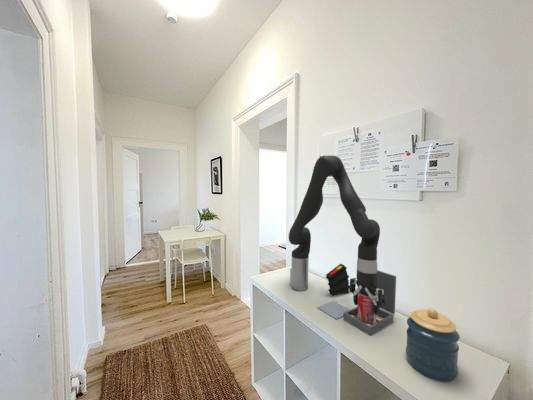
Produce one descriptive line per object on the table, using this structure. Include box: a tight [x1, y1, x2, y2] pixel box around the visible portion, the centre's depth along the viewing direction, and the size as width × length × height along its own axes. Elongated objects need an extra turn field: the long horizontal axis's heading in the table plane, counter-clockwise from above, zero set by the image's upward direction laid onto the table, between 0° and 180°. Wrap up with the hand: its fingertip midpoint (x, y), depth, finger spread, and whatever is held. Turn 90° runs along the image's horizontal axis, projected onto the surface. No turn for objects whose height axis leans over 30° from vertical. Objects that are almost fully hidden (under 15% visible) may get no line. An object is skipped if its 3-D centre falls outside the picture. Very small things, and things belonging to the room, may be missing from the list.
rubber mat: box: [316, 300, 351, 321], centre depth 100 cm, size 11×11×1 cm
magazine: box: [325, 263, 350, 297], centre depth 116 cm, size 4×13×15 cm, turn 114°
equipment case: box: [342, 269, 397, 337], centre depth 92 cm, size 12×17×19 cm
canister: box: [405, 308, 460, 382], centre depth 69 cm, size 13×13×18 cm
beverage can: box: [356, 292, 375, 325], centre depth 91 cm, size 6×6×12 cm
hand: (365, 308), depth 90 cm, fingers open, 8 cm apart
